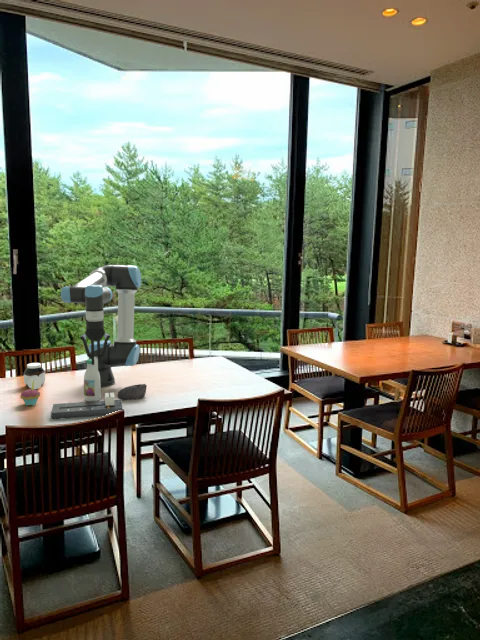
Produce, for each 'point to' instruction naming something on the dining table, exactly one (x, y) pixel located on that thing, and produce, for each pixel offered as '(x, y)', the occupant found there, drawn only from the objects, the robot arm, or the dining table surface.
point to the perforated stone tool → (132, 392)
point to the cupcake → (30, 396)
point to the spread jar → (34, 375)
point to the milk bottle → (91, 383)
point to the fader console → (84, 409)
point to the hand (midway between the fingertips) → (96, 371)
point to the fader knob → (109, 399)
